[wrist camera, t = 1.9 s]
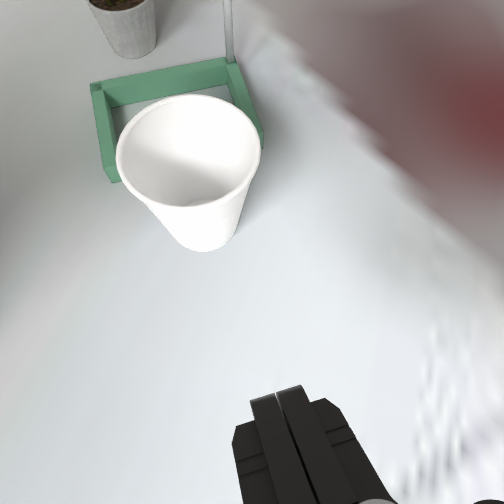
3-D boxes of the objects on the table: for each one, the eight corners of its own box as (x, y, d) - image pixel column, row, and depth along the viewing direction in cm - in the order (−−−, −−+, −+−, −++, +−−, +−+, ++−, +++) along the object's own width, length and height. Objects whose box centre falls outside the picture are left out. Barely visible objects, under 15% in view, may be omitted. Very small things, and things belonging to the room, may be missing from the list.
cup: (210, 161, 40) (197, 72, 30) (279, 225, 37) (291, 150, 27) (130, 221, 37) (85, 144, 27) (198, 295, 34) (177, 240, 24)
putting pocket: (111, 183, 39) (24, 27, 23) (97, 101, 43) (16, -76, 28) (301, 140, 41) (332, -27, 26) (270, 67, 45) (281, -114, 30)
